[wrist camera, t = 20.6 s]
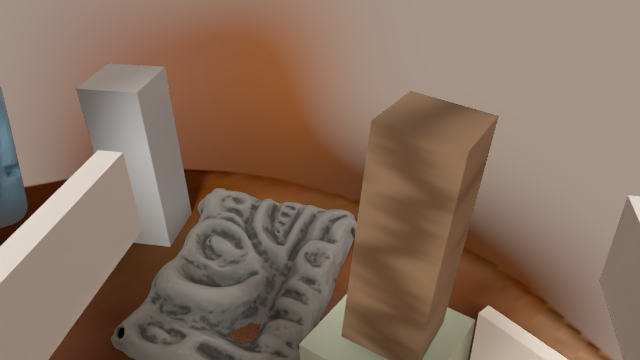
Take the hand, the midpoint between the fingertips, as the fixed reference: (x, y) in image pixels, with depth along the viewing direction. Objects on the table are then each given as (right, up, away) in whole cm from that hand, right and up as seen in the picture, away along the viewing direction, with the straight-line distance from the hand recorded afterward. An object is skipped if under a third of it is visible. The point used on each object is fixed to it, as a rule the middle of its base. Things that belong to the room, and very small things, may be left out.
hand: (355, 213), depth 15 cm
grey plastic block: (-19, -4, +49) cm, 52 cm away
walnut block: (+5, -11, +29) cm, 31 cm away
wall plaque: (-9, -10, +42) cm, 44 cm away
